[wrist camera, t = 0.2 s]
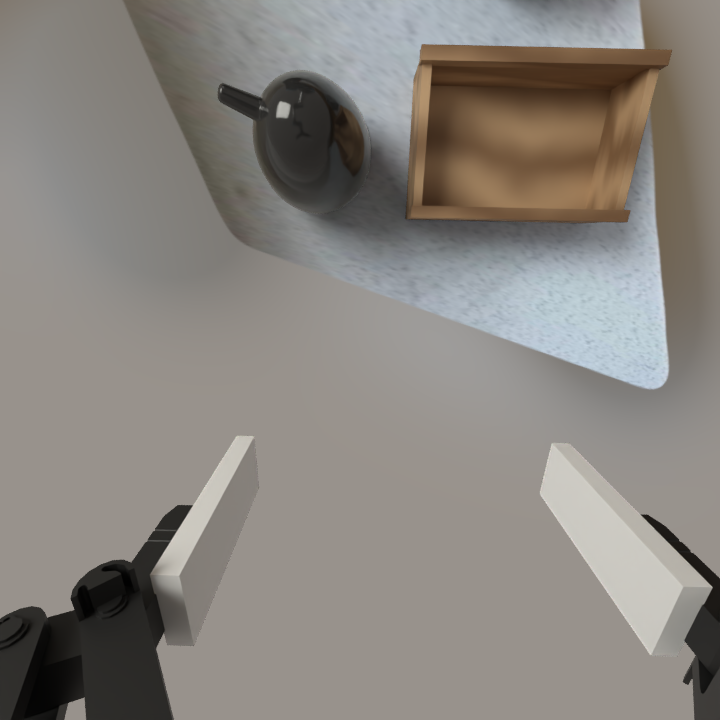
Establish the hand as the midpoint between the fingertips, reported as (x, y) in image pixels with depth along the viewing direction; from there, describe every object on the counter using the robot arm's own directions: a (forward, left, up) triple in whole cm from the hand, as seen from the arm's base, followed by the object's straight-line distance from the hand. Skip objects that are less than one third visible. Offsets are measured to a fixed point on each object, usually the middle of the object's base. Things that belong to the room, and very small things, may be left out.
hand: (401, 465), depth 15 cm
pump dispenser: (-17, -6, -28) cm, 33 cm away
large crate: (-18, +13, -28) cm, 35 cm away
